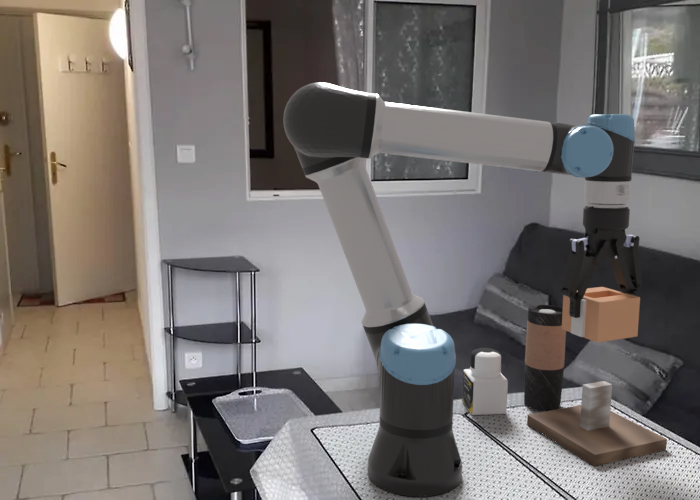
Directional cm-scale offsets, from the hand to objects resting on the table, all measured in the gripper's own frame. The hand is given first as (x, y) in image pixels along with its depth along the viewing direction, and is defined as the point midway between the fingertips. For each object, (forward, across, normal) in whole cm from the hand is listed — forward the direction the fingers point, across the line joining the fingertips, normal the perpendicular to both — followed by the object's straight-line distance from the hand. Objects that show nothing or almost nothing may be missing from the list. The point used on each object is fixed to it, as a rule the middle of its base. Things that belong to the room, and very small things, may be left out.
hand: (599, 331), depth 125 cm
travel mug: (+20, +1, +16) cm, 26 cm away
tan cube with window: (0, 0, 0) cm, 0 cm away
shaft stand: (+20, 0, 0) cm, 20 cm away
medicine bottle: (+20, -11, +19) cm, 30 cm away
